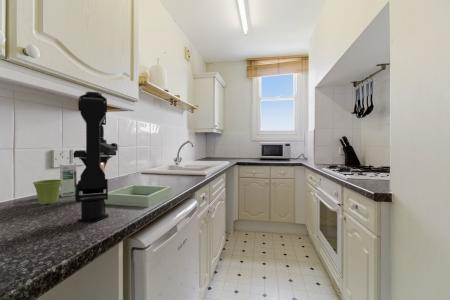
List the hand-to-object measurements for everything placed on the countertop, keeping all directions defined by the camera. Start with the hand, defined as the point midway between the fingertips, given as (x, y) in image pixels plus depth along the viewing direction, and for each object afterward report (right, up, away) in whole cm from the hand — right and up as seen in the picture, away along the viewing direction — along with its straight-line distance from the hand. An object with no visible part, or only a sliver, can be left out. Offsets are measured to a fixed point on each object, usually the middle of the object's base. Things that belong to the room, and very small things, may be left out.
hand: (96, 172), depth 101 cm
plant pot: (-14, -11, -9) cm, 20 cm away
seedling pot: (0, -2, 0) cm, 2 cm away
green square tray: (+20, -11, -2) cm, 23 cm away
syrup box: (-16, -11, +5) cm, 20 cm away
